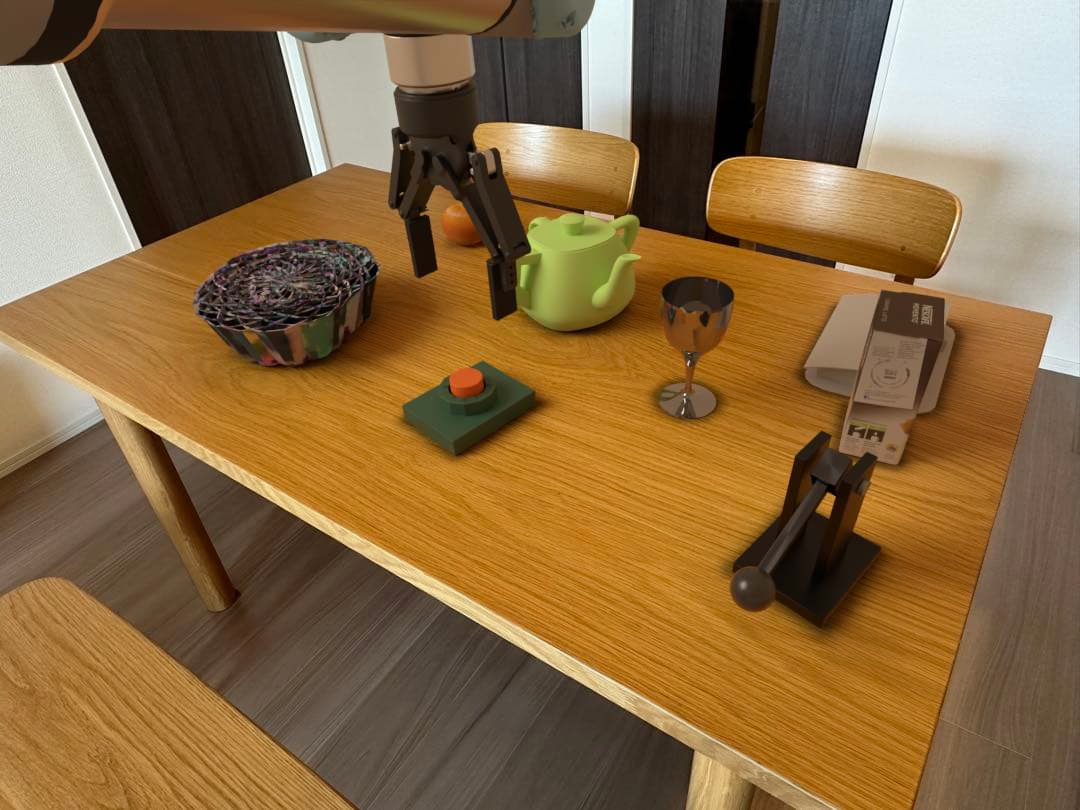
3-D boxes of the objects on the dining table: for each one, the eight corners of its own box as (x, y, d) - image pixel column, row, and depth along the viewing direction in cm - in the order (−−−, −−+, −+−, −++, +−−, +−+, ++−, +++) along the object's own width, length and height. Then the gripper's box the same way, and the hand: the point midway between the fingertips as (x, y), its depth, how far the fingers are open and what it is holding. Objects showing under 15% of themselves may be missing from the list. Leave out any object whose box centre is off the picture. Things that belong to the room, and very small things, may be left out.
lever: (762, 626, 56) (756, 615, 53) (725, 600, 58) (717, 588, 55) (861, 477, 59) (861, 459, 56) (822, 457, 61) (819, 439, 58)
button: (465, 403, 82) (463, 391, 81) (444, 389, 84) (442, 378, 83) (490, 388, 84) (489, 376, 83) (469, 375, 86) (468, 363, 85)
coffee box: (900, 467, 75) (945, 342, 65) (837, 453, 77) (872, 330, 67) (904, 417, 81) (946, 296, 71) (846, 405, 84) (879, 286, 74)
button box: (455, 456, 80) (450, 429, 78) (404, 419, 86) (399, 393, 83) (536, 404, 87) (534, 378, 84) (484, 373, 93) (481, 348, 90)
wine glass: (662, 376, 90) (670, 272, 81) (724, 387, 88) (739, 281, 78) (647, 413, 84) (653, 305, 75) (713, 426, 82) (728, 316, 73)
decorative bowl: (410, 296, 114) (401, 238, 109) (351, 385, 92) (336, 317, 86) (264, 293, 117) (248, 237, 112) (172, 379, 95) (146, 313, 89)
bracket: (820, 629, 60) (857, 520, 51) (731, 571, 65) (751, 464, 57) (878, 556, 66) (920, 447, 57) (792, 508, 71) (819, 402, 63)
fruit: (505, 216, 125) (476, 183, 120) (486, 250, 121) (455, 218, 117) (476, 227, 131) (447, 196, 126) (457, 260, 127) (426, 230, 123)
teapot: (528, 275, 114) (522, 189, 105) (650, 283, 110) (655, 194, 101) (498, 336, 100) (488, 243, 91) (637, 347, 96) (641, 251, 87)
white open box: (957, 326, 96) (967, 301, 93) (931, 419, 81) (941, 392, 78) (842, 301, 103) (848, 277, 100) (798, 382, 88) (804, 357, 85)
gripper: (563, 94, 56) (570, 319, 69) (391, 56, 71) (423, 247, 84) (493, 117, 52) (514, 350, 65) (326, 71, 67) (371, 269, 80)
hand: (463, 293), depth 75 cm, fingers open, 13 cm apart
